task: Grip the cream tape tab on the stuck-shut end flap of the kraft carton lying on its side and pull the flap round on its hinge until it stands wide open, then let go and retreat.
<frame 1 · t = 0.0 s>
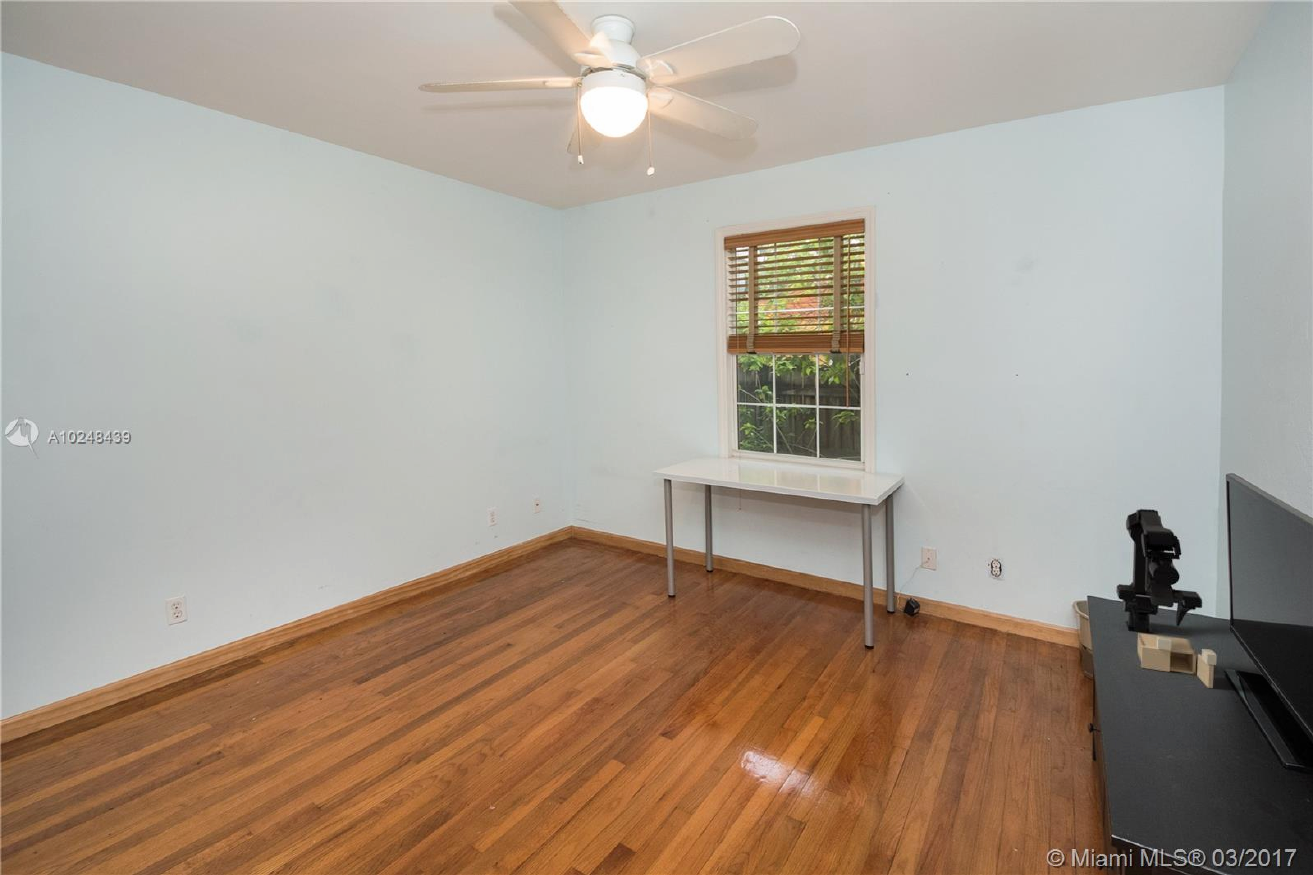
hand: (1156, 623, 176), 14 cm above the table, fingers open, 9 cm apart
carton: (1165, 662, 181), on the table
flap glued: (1155, 653, 177), point 5 cm above the table, hinge at 0.0°
flap open: (1205, 665, 169), point 5 cm above the table, hinge at 100.0°
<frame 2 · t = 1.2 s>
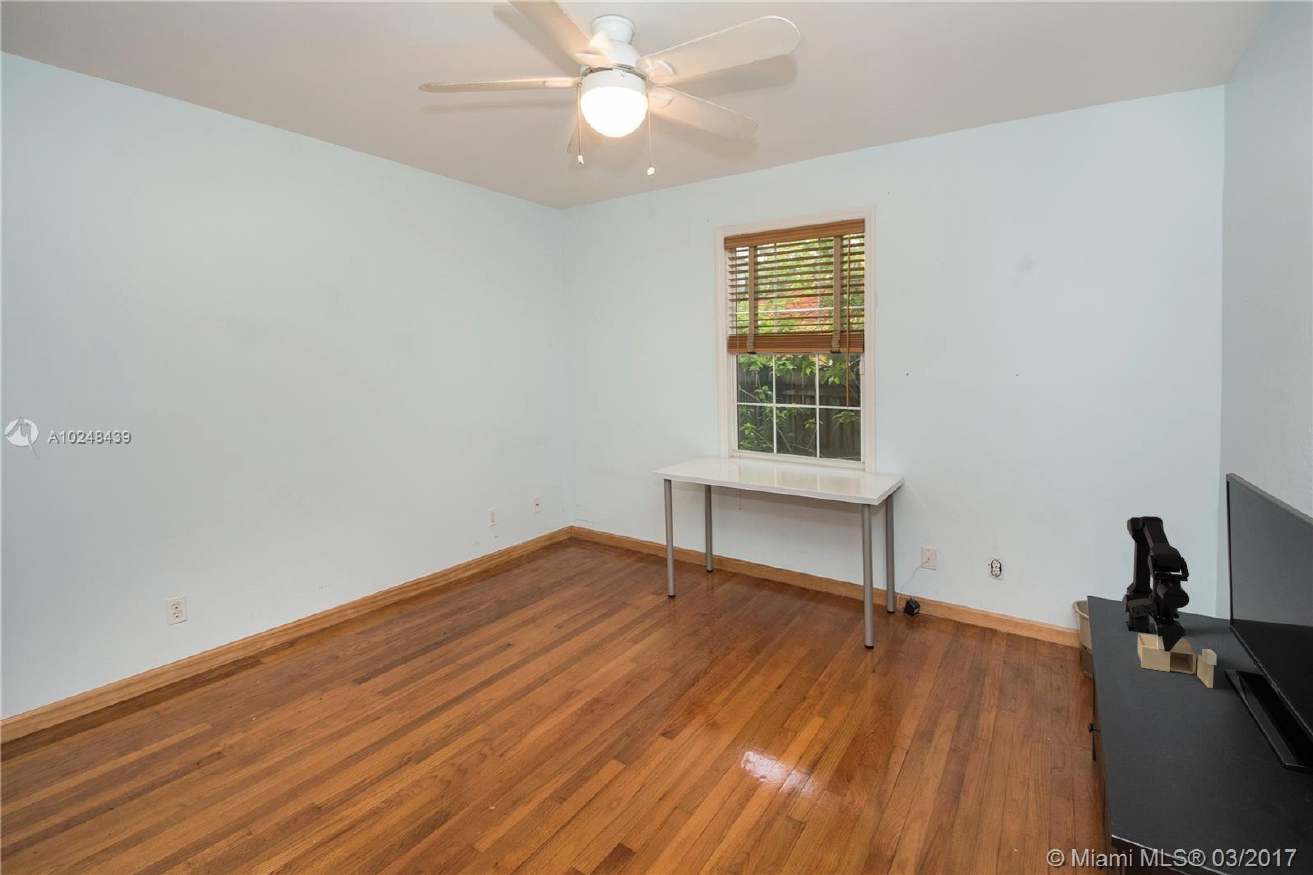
hand: (1163, 644, 176), 8 cm above the table, fingers open, 9 cm apart
nothing on the table moved.
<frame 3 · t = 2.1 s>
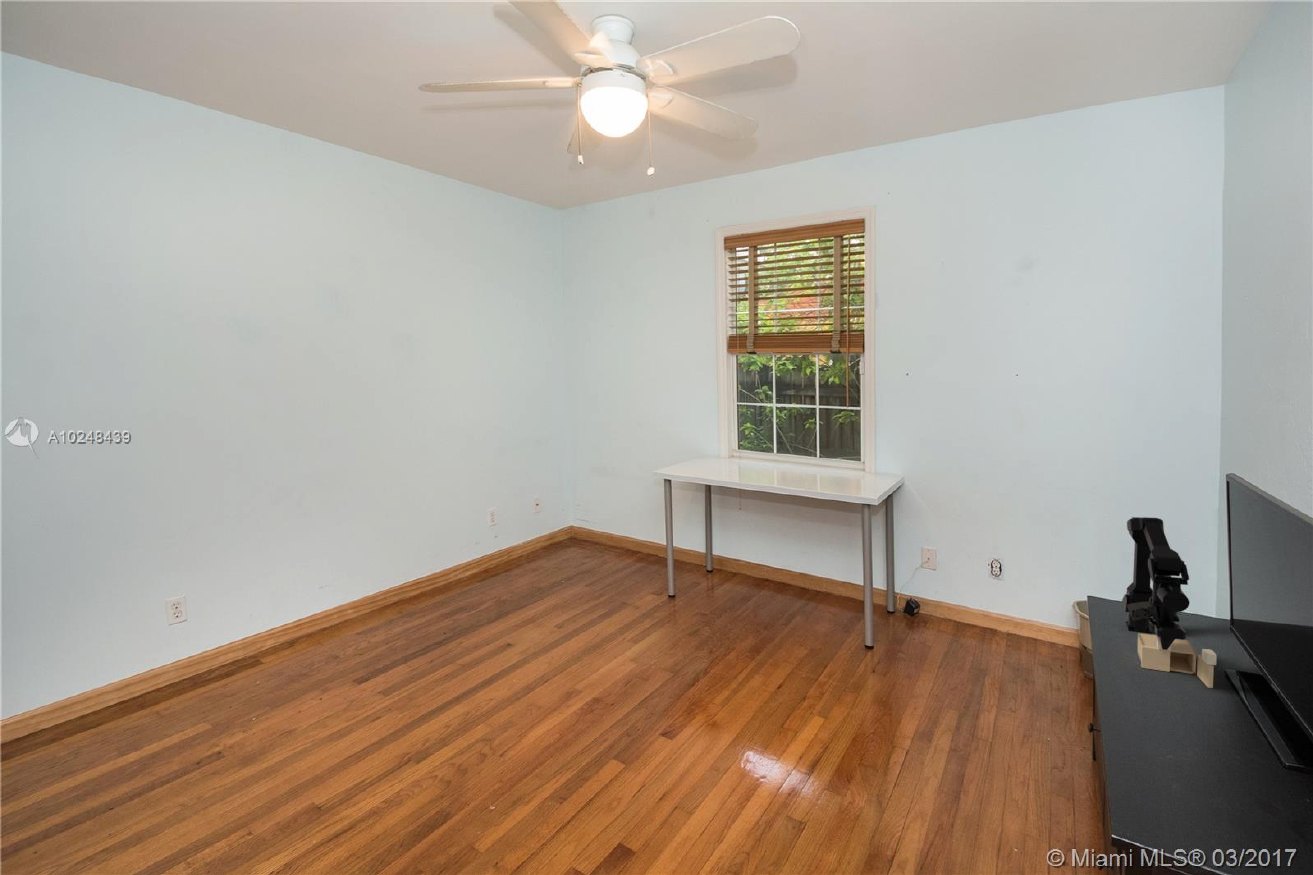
hand: (1163, 647, 176), 7 cm above the table, fingers closed on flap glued, 2 cm apart
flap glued: (1155, 653, 177), point 5 cm above the table, hinge at 0.0°, touching gripper
everything else where it was.
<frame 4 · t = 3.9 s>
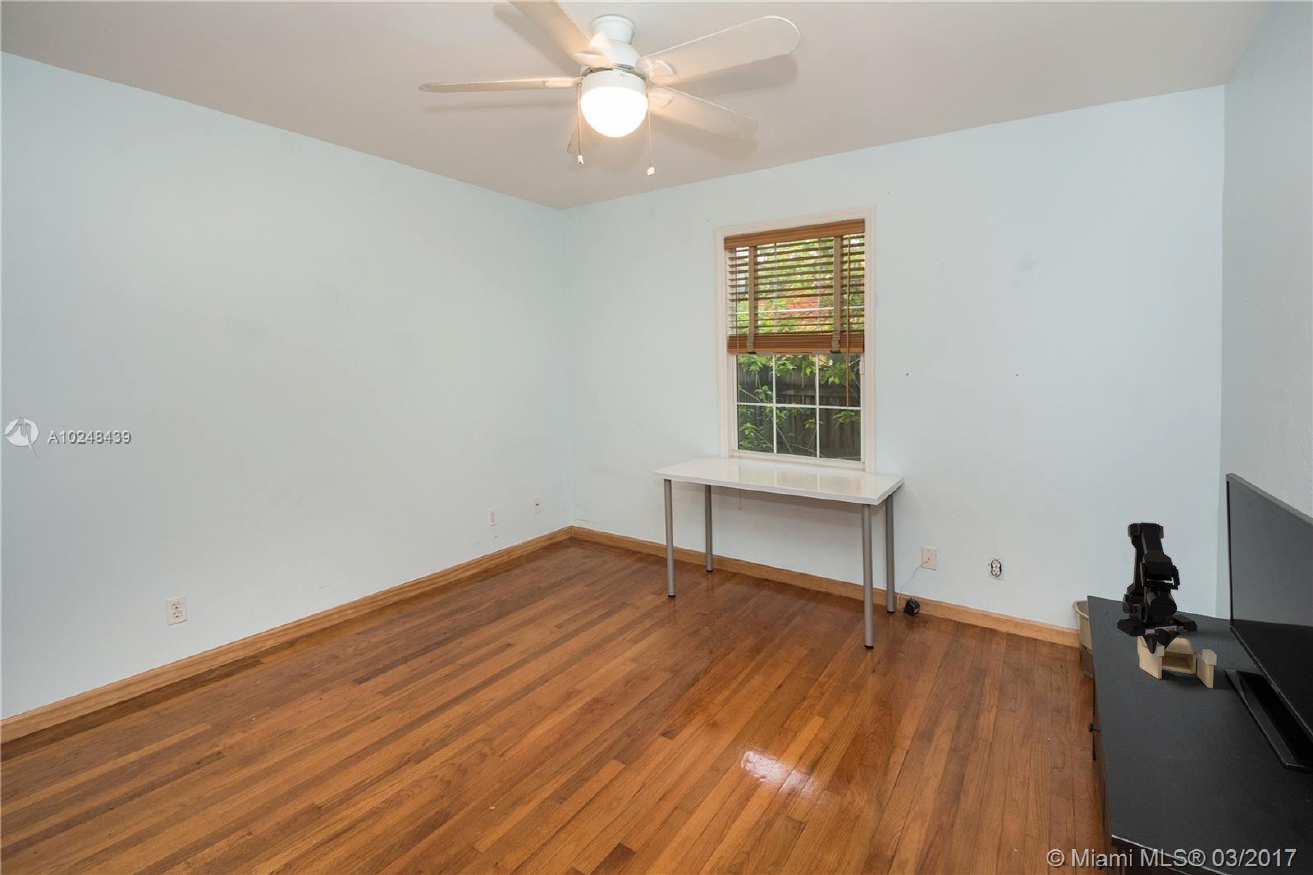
hand: (1155, 653, 173), 7 cm above the table, fingers closed on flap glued, 2 cm apart
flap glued: (1150, 656, 175), point 5 cm above the table, hinge at 58.2°, touching gripper
everything else where it was.
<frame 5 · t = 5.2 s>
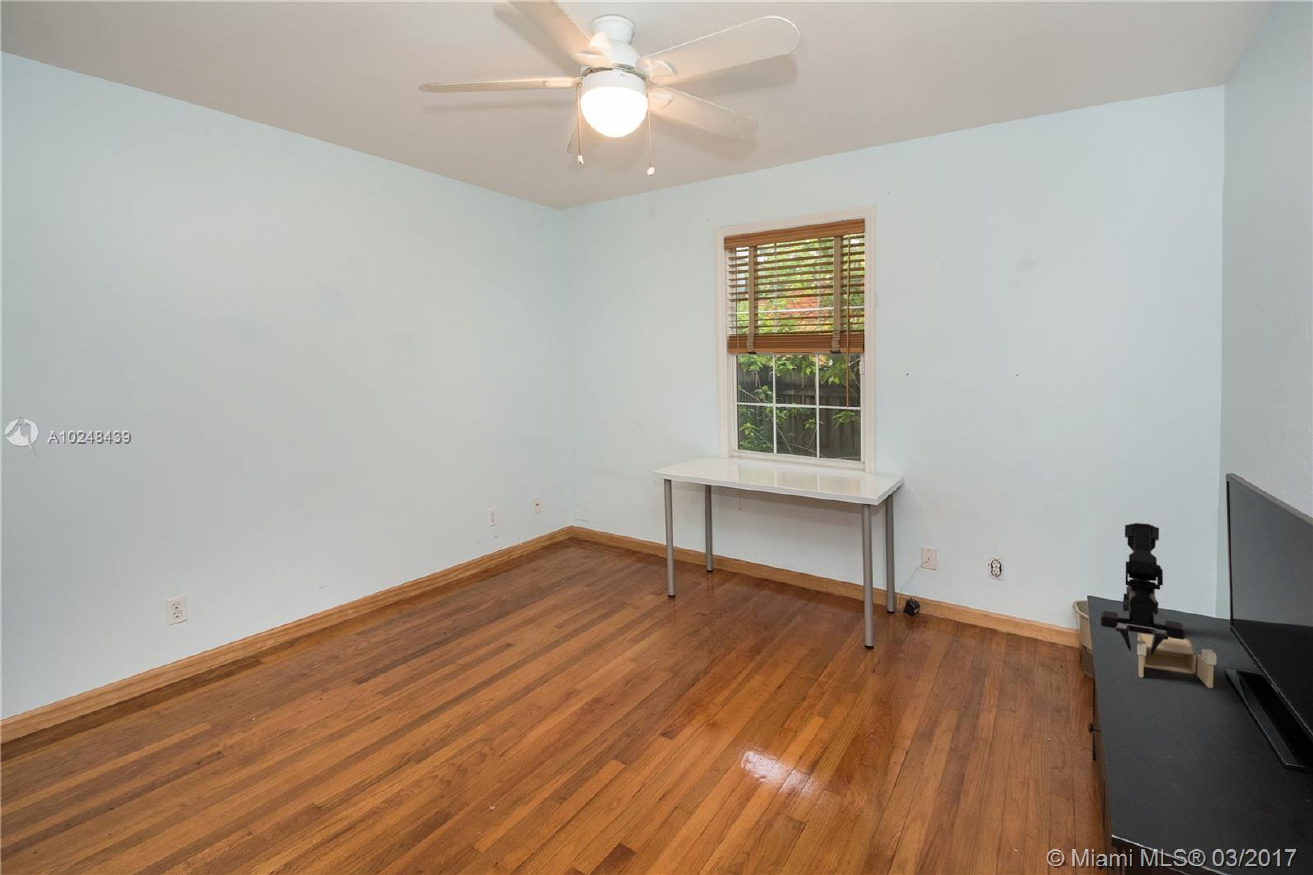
hand: (1140, 652, 175), 7 cm above the table, fingers open, 5 cm apart
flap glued: (1141, 656, 176), point 5 cm above the table, hinge at 97.5°
everything else where it was.
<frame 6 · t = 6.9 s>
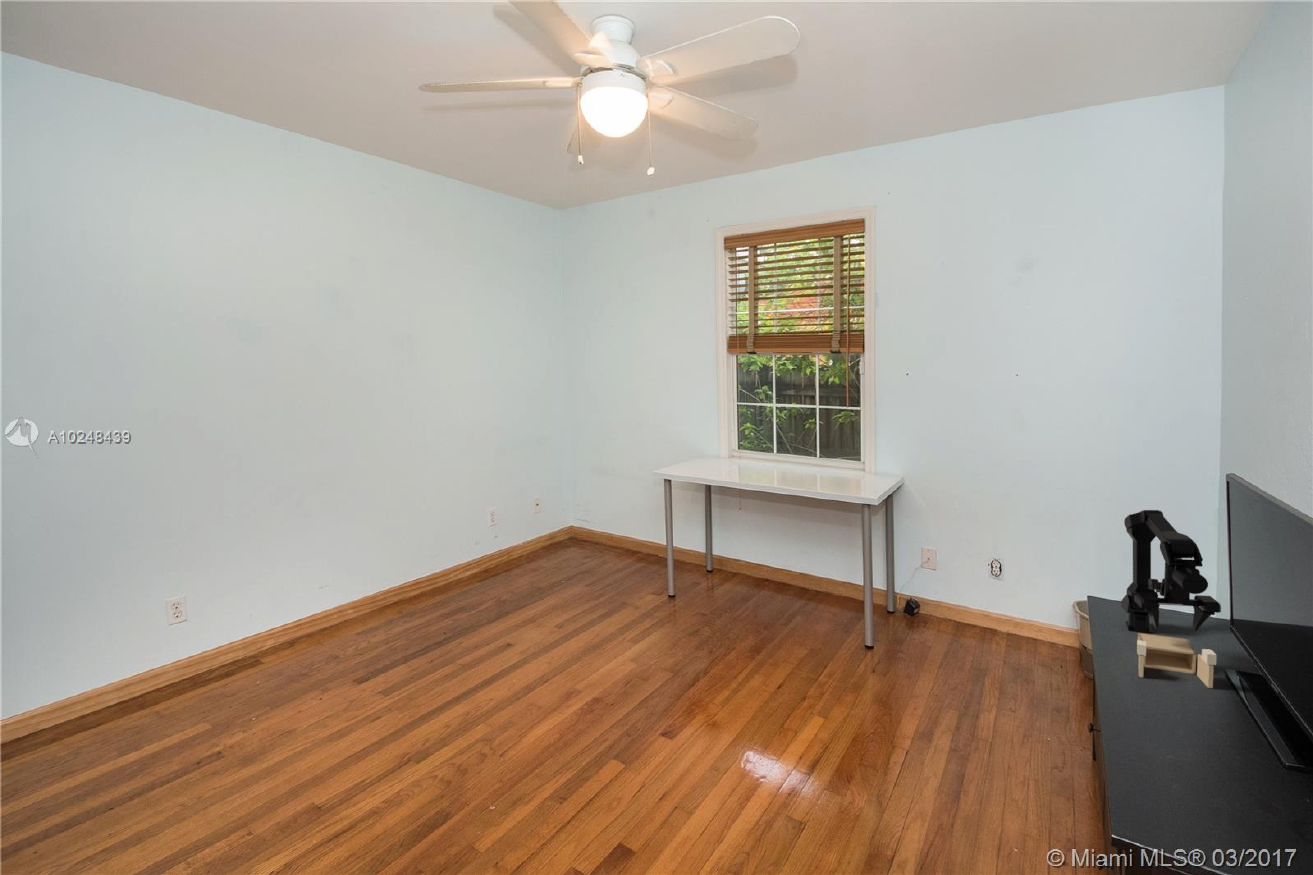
hand: (1175, 629, 177), 12 cm above the table, fingers open, 9 cm apart
nothing on the table moved.
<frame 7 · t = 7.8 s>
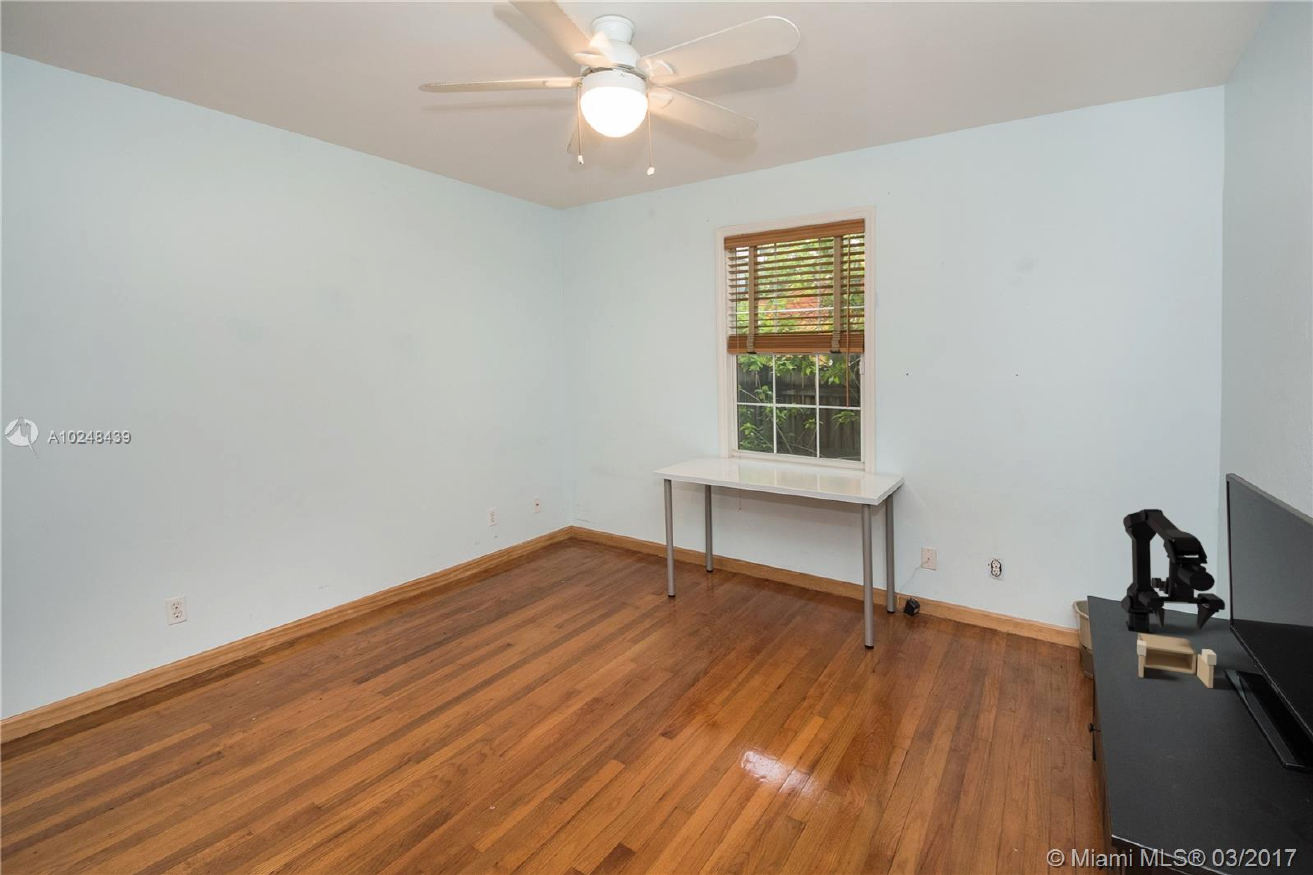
hand: (1179, 627, 177), 12 cm above the table, fingers open, 9 cm apart
nothing on the table moved.
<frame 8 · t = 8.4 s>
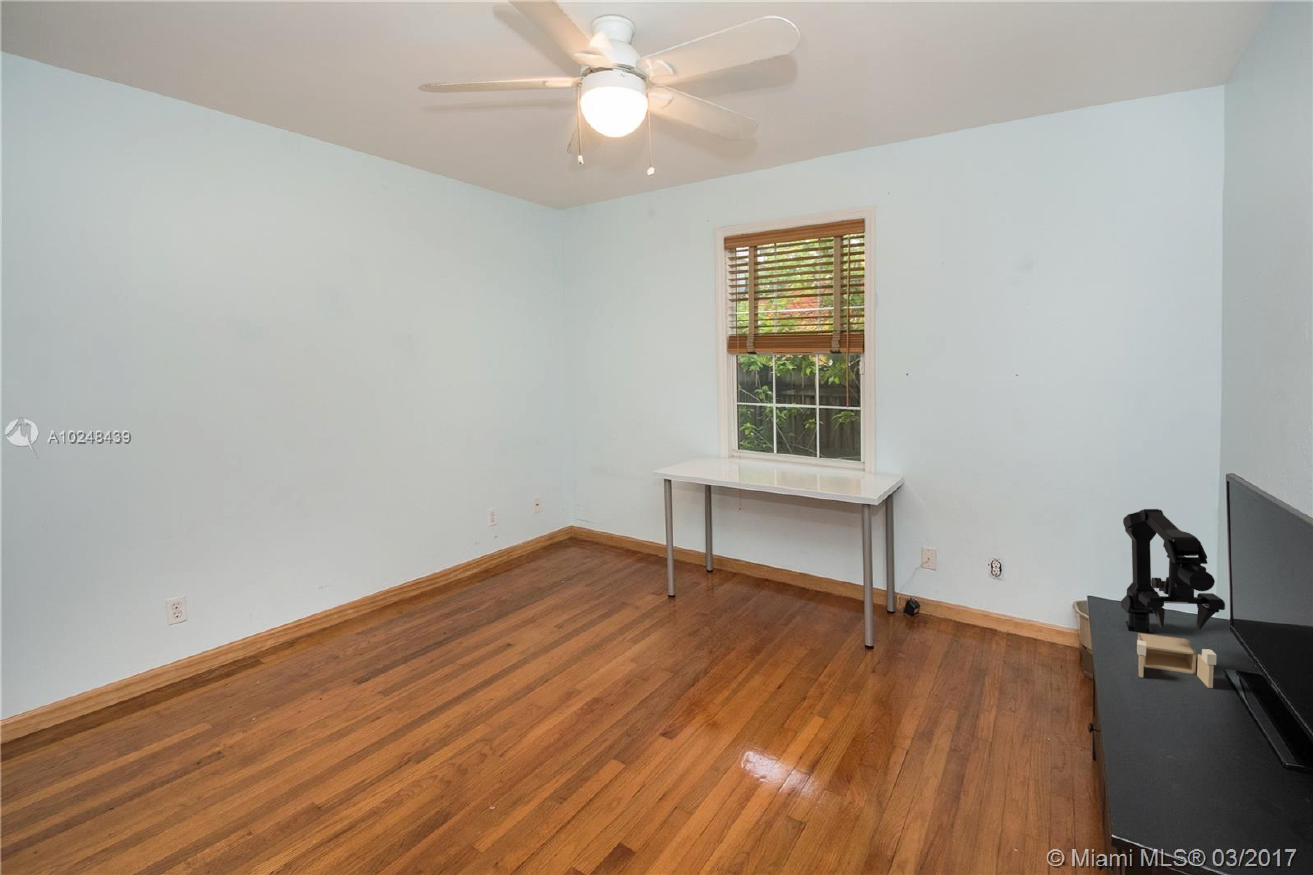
hand: (1179, 627, 177), 12 cm above the table, fingers open, 9 cm apart
nothing on the table moved.
at the end: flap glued at +98° (first picture: +0°); the gripper is holding nothing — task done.
